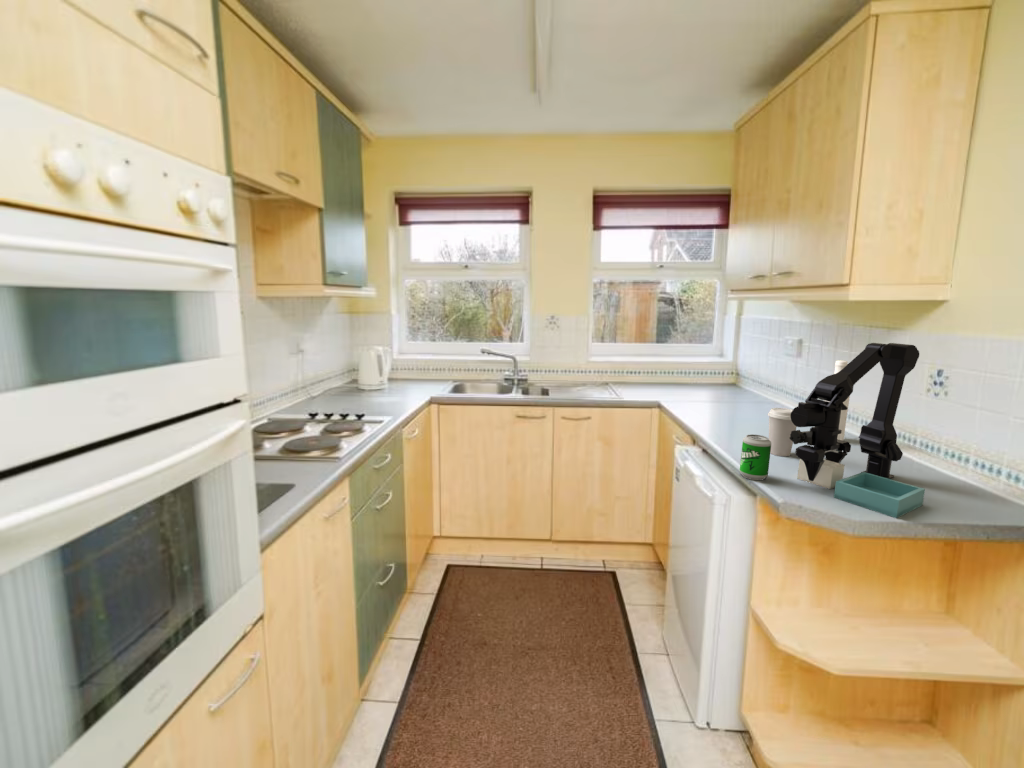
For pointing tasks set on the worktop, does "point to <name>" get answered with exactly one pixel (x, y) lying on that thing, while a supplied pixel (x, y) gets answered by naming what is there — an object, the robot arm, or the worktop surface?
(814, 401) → the robot arm
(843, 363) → the bottle
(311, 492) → the worktop surface
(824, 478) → the small crate
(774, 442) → the coffee cup
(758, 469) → the soda can
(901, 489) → the big crate
